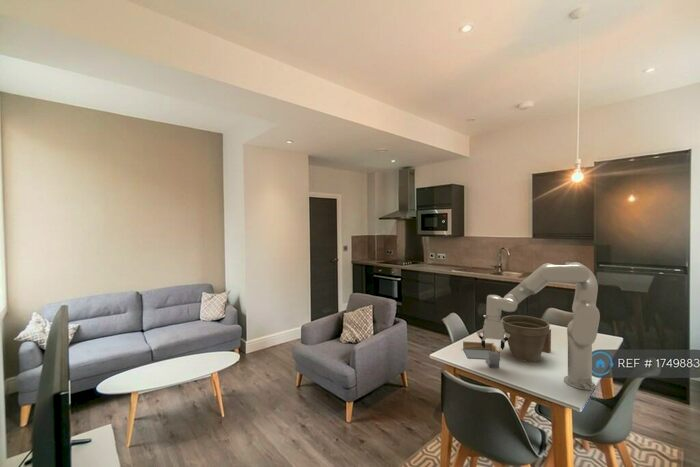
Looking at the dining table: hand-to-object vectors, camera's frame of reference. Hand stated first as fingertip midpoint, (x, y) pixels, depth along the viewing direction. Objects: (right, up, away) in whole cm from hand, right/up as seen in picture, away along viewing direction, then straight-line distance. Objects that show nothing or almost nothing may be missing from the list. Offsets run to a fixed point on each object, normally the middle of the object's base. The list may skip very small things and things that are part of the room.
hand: (492, 348), depth 169 cm
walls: (+1, -10, +17) cm, 20 cm away
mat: (+1, -10, +17) cm, 20 cm away
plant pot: (+25, -10, +13) cm, 30 cm away
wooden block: (+41, -10, +23) cm, 48 cm away
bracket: (+1, -11, +3) cm, 11 cm away
